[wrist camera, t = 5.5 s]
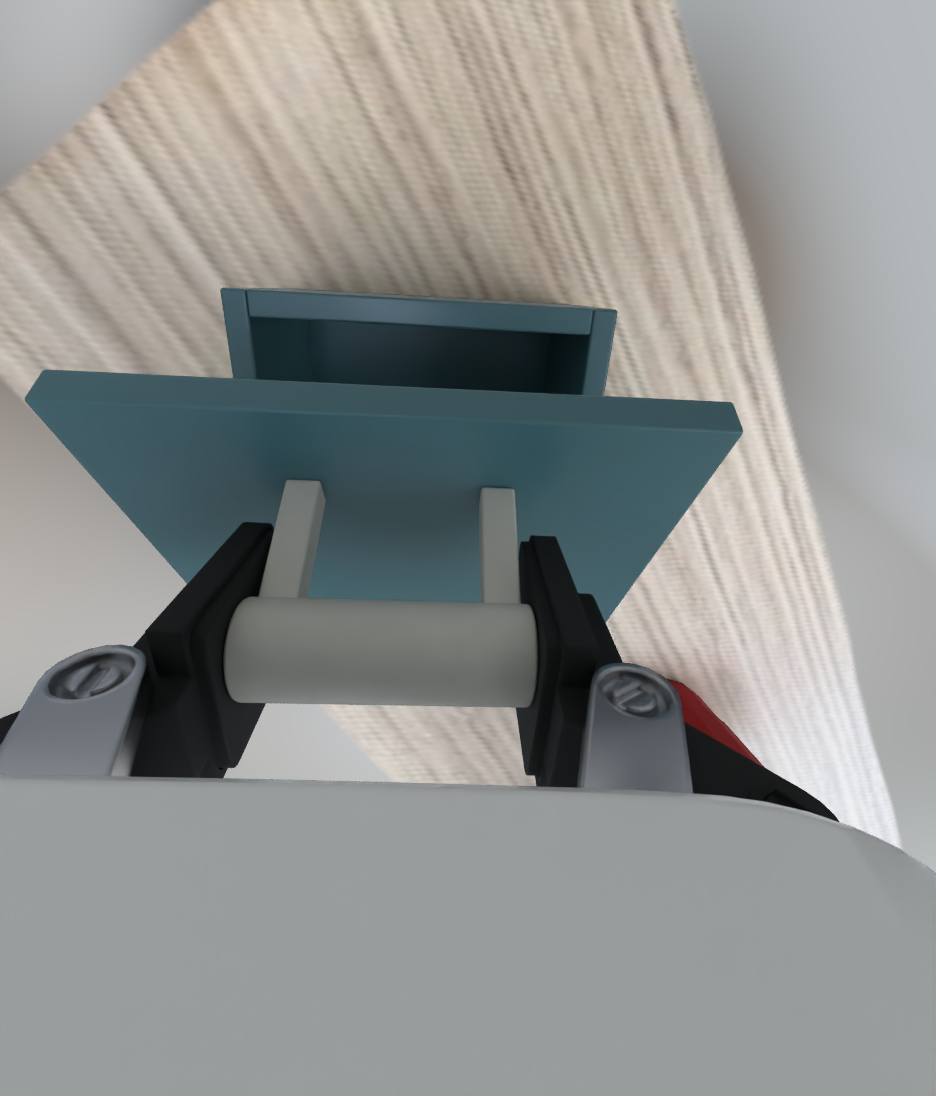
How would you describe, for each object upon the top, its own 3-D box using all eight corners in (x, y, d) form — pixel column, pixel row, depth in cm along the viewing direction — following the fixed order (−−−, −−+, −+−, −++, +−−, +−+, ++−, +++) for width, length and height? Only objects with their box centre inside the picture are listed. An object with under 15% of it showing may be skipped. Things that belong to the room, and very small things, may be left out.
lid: (42, 368, 9) (-142, 647, 6) (733, 400, 10) (836, 669, 7) (273, 659, 22) (245, 791, 19) (560, 665, 23) (572, 794, 20)
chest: (292, 288, 23) (218, 287, 16) (566, 304, 24) (618, 310, 16) (318, 569, 30) (274, 661, 22) (533, 575, 30) (559, 667, 23)
